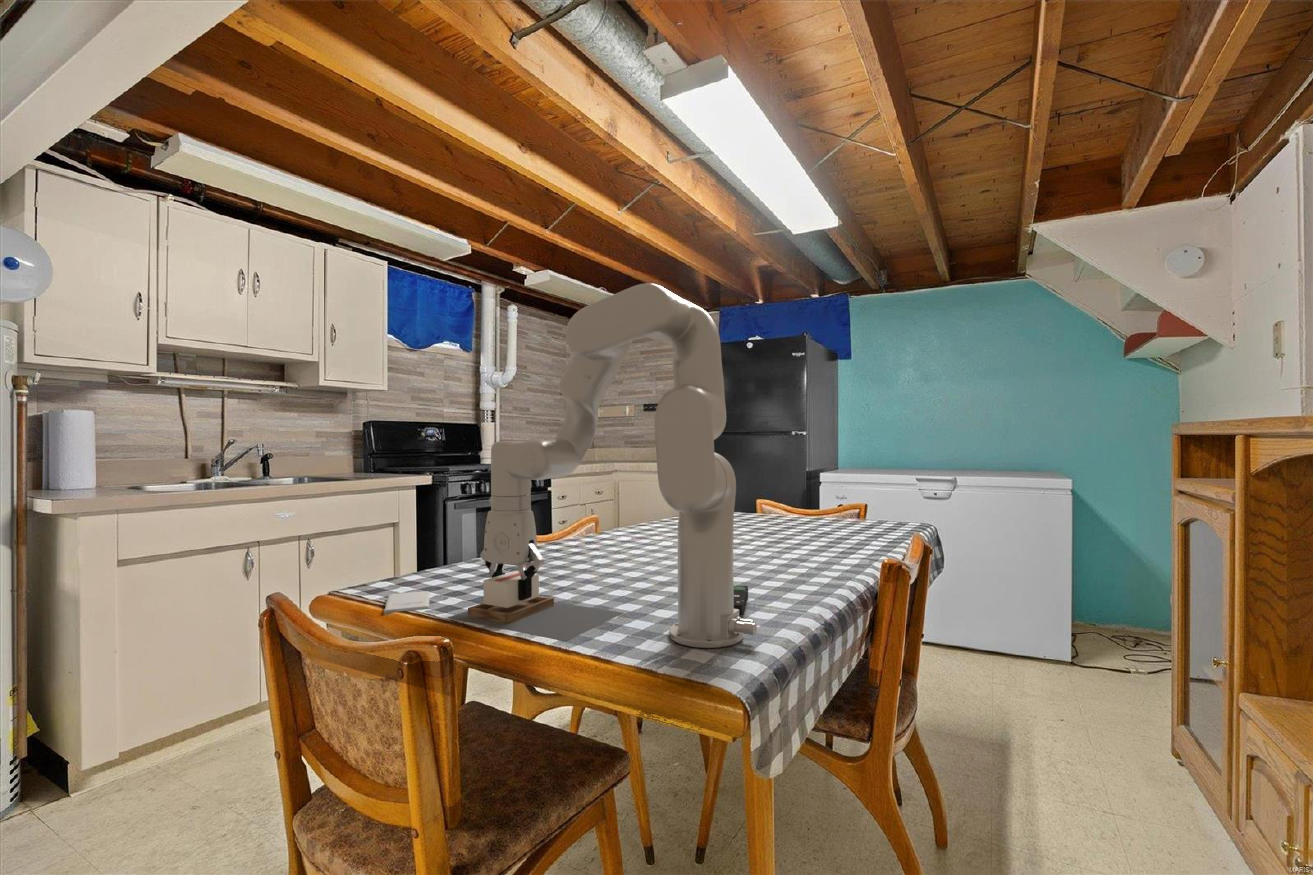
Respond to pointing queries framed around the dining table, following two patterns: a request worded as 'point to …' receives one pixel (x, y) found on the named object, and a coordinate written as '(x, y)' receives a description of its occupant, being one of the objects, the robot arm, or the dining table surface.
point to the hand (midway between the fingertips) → (511, 595)
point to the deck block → (507, 590)
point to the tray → (510, 610)
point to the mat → (552, 621)
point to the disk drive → (740, 598)
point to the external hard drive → (407, 602)
